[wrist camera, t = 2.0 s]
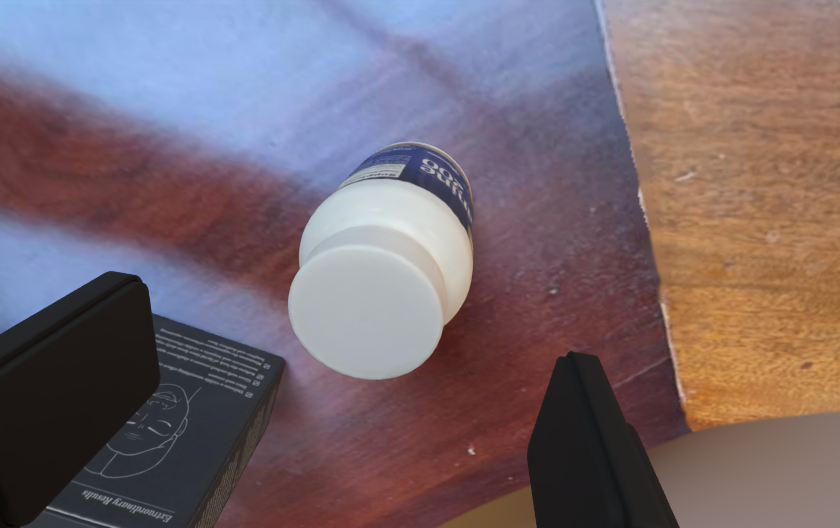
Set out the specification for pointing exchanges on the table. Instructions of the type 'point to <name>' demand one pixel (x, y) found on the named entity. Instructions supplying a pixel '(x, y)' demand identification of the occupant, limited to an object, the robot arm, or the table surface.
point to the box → (177, 439)
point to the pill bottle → (385, 263)
